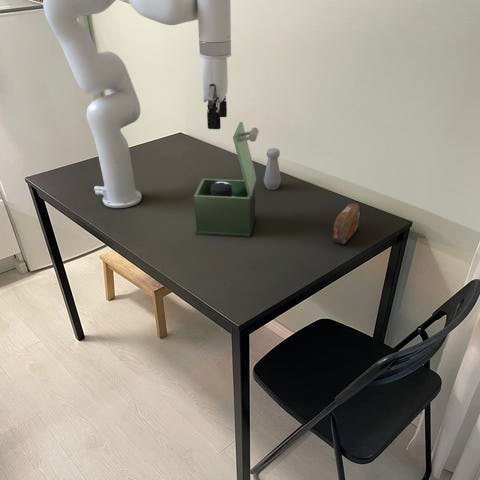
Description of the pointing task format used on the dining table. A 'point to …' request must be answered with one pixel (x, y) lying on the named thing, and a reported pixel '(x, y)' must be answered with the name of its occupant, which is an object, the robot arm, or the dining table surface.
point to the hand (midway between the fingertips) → (217, 122)
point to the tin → (347, 223)
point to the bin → (224, 210)
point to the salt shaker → (272, 170)
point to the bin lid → (245, 155)
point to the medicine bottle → (221, 189)
